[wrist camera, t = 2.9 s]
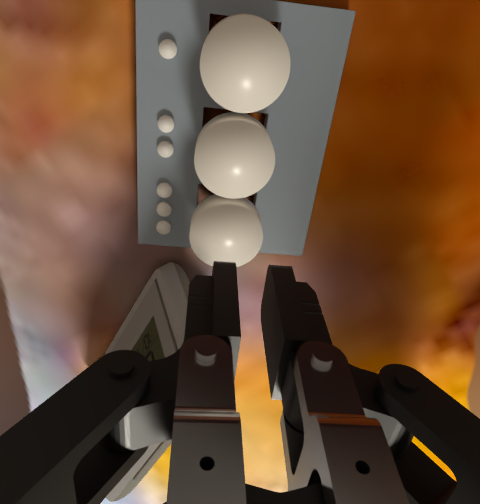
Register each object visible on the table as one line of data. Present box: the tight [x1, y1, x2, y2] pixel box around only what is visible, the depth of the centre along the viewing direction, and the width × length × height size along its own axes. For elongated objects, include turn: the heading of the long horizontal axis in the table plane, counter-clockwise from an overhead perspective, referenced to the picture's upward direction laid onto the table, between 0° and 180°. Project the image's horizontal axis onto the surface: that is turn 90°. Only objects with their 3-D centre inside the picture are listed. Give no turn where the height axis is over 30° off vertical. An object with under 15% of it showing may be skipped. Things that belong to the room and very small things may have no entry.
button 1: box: [200, 13, 291, 113], centre depth 23 cm, size 5×5×3 cm
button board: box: [136, 0, 356, 256], centre depth 28 cm, size 12×16×2 cm
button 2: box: [194, 112, 275, 199], centre depth 26 cm, size 5×5×3 cm
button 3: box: [189, 194, 263, 267], centre depth 29 cm, size 5×5×3 cm
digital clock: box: [104, 262, 190, 502], centre depth 33 cm, size 16×9×11 cm, turn 137°
